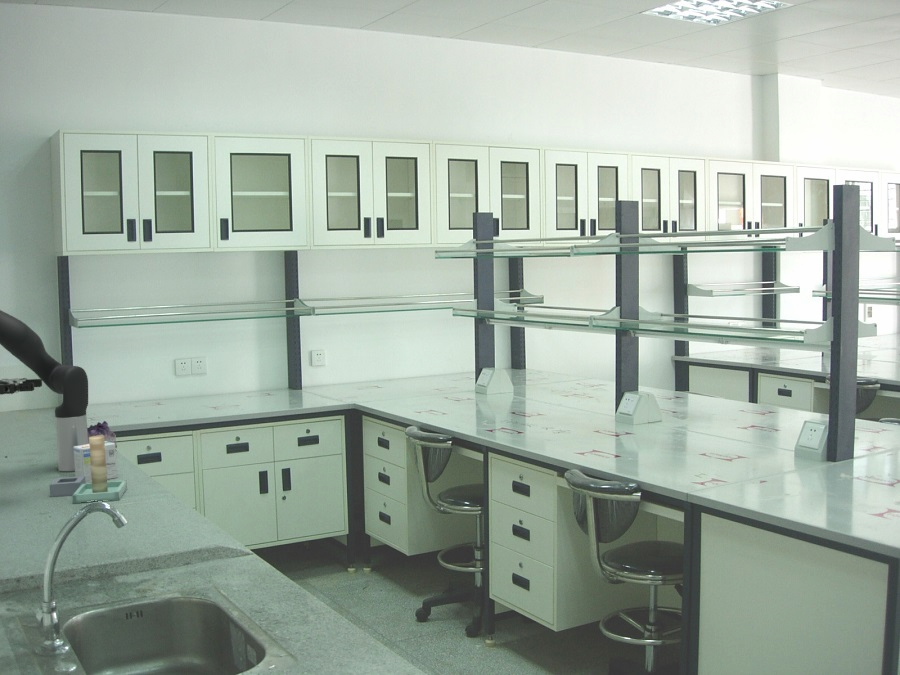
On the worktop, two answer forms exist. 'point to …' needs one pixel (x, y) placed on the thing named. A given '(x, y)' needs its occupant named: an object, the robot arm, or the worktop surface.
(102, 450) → the dowel
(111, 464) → the light bulb box
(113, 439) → the geode
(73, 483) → the socket block
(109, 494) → the tray
